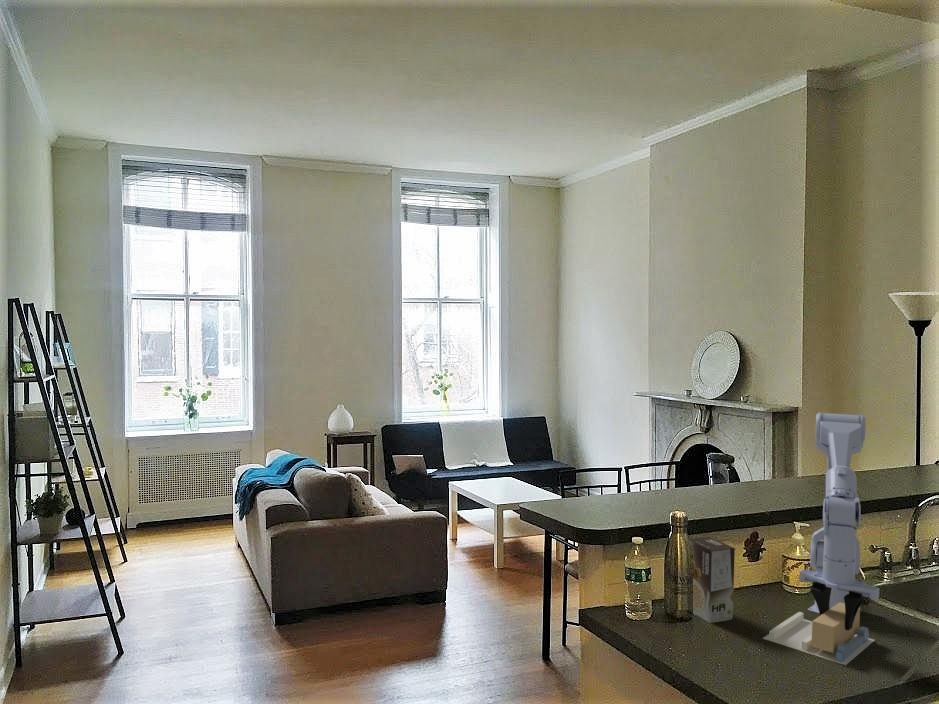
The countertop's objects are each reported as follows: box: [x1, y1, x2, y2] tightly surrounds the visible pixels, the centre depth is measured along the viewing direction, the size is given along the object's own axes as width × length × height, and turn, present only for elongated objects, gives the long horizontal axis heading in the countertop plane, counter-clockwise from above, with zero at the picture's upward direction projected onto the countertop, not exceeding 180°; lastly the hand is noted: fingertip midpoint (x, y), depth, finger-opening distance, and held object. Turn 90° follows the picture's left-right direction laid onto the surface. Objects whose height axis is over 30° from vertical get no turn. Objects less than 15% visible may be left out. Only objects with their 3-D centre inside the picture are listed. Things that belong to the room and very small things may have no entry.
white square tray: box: [762, 611, 876, 666], centre depth 157 cm, size 16×16×3 cm
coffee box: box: [688, 536, 736, 624], centre depth 169 cm, size 9×6×16 cm
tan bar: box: [811, 602, 861, 653], centre depth 155 cm, size 14×4×5 cm, turn 135°
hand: (836, 625), depth 155 cm, fingers closed on tan bar, 4 cm apart
